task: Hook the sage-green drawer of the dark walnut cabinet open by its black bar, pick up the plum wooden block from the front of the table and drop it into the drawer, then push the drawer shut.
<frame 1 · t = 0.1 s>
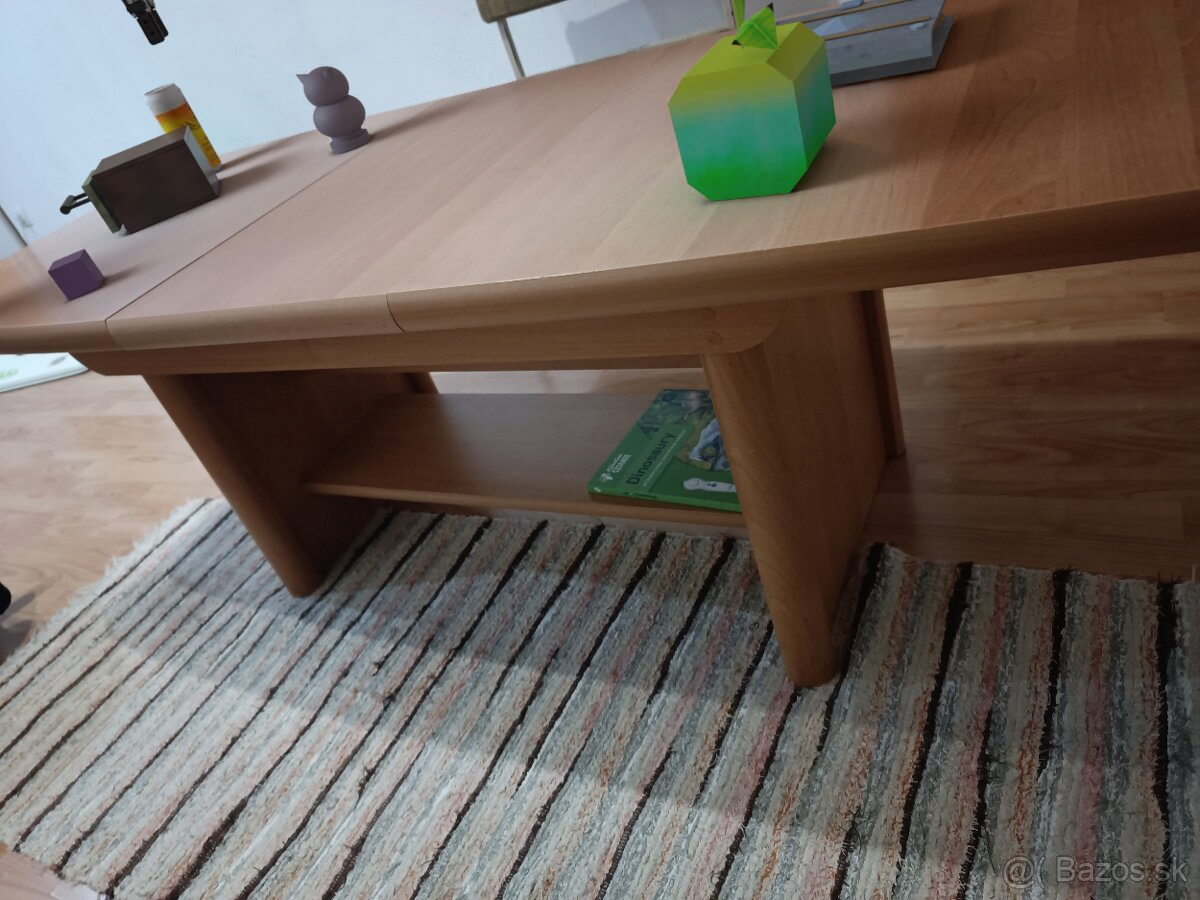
hand: (160, 40, 128), 22 cm above the table, tool pointing down, fingers open, 8 cm apart
drawer: (126, 191, 138), point 5 cm above the table, slide at 1.0 cm
apple: (766, 174, 78), on the table
cabinet: (176, 206, 141), on the table
block: (87, 288, 117), on the table
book: (843, 68, 95), on the table
beer can: (208, 174, 155), on the table
cat figurine: (353, 146, 138), on the table
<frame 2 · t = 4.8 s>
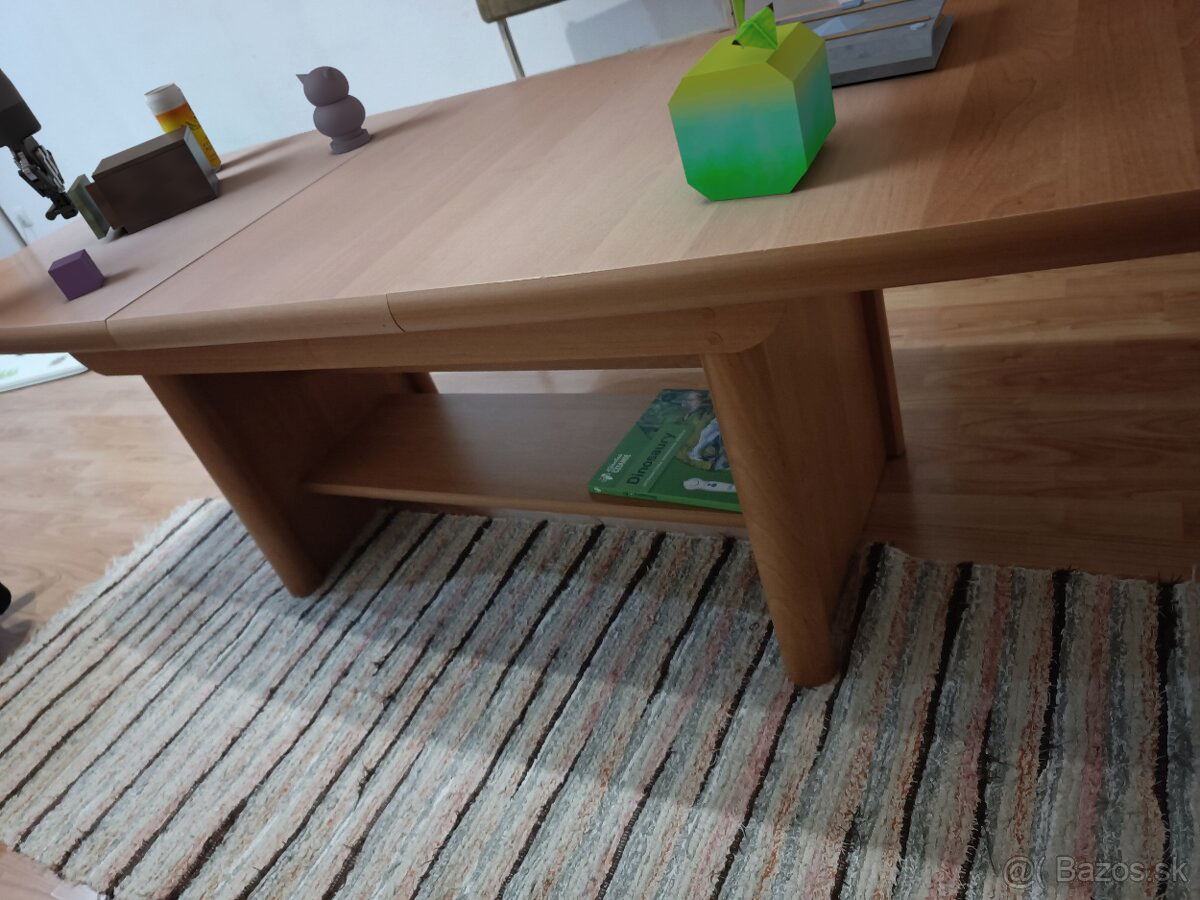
hand: (72, 216, 137), 4 cm above the table, tool pointing down, fingers closed
drawer: (113, 197, 138), point 5 cm above the table, slide at 3.3 cm, touching gripper
everything else where it was.
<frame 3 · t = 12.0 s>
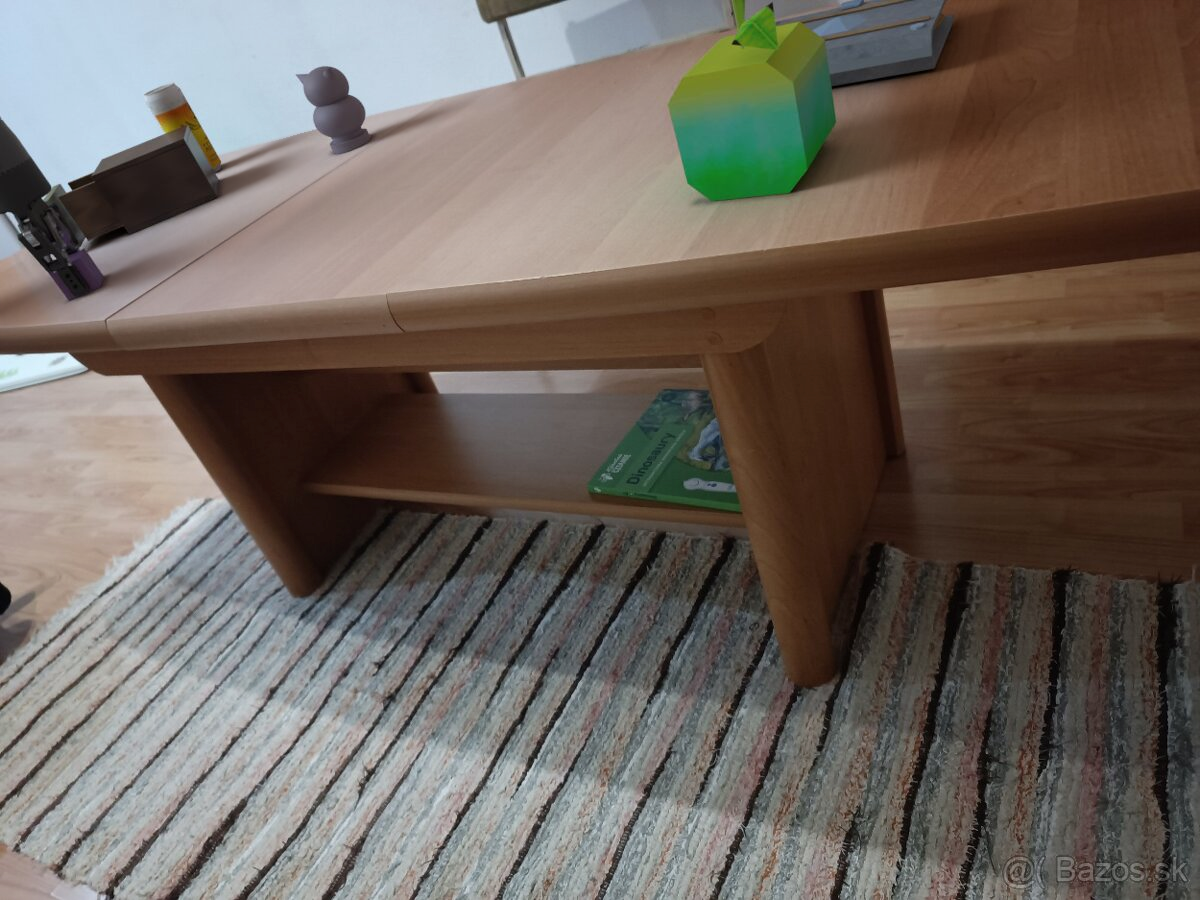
hand: (85, 286, 117), 0 cm above the table, tool pointing down, fingers closed on block, 4 cm apart
drawer: (88, 207, 137), point 5 cm above the table, slide at 7.4 cm
block: (87, 288, 117), on the table, touching gripper
everything else where it was.
when the fingers open (8 cm above the table, at t = 19.4 s): block moves 1 cm, resting on drawer.
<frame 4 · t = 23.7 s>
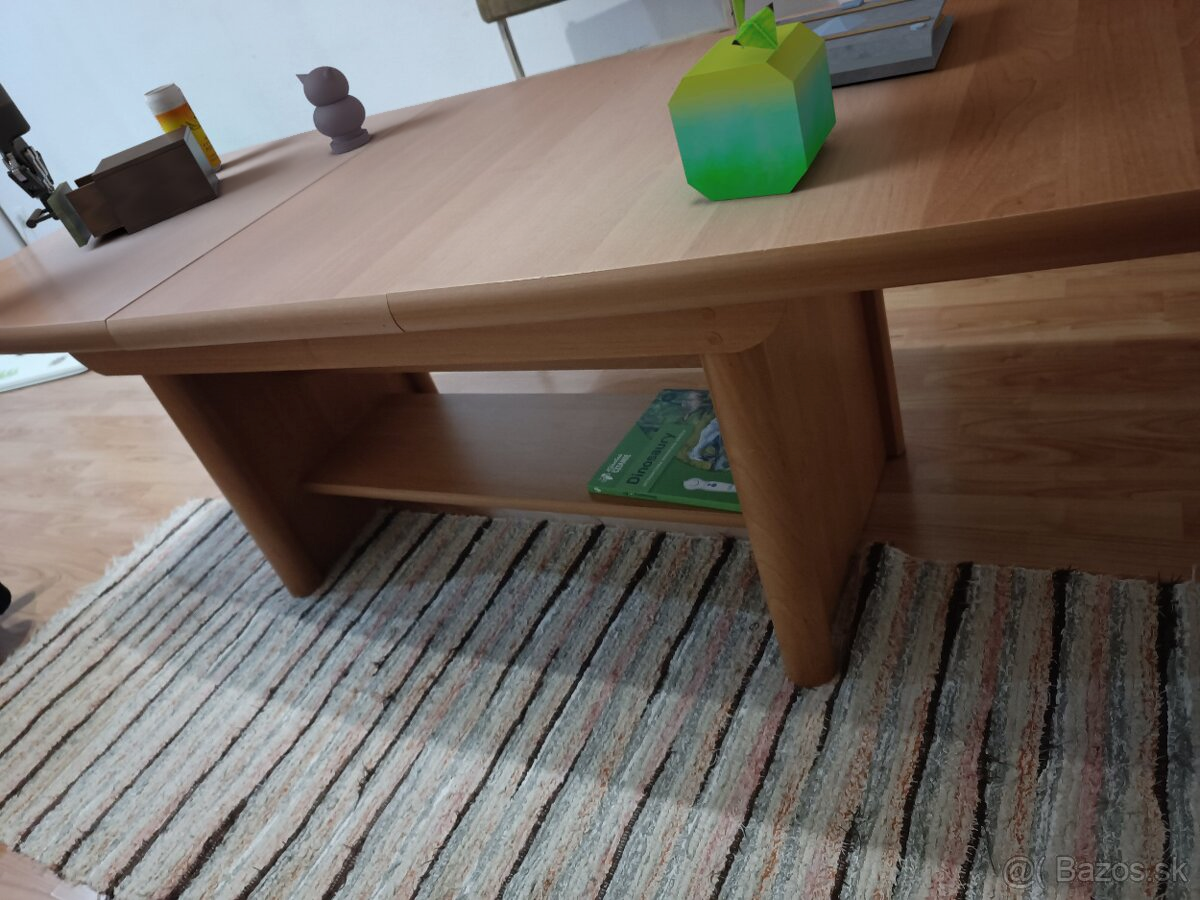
hand: (62, 217, 137), 5 cm above the table, tool pointing down, fingers closed
drawer: (94, 204, 137), point 5 cm above the table, slide at 6.3 cm, touching block, gripper
block: (107, 220, 139), point 2 cm above the table, touching drawer
everything else where it was.
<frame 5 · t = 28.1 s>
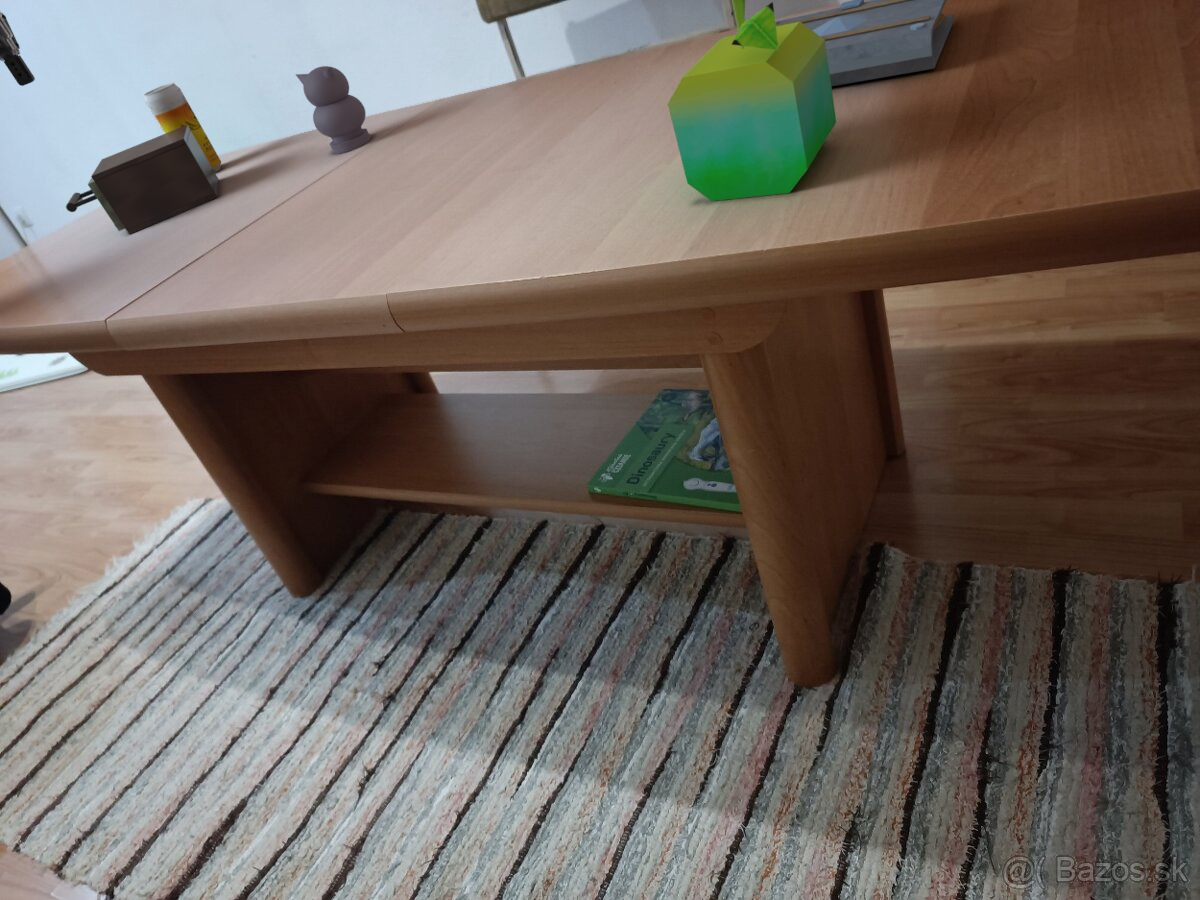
hand: (28, 83, 131), 23 cm above the table, tool pointing down, fingers closed
drawer: (132, 189, 138), point 5 cm above the table, slide at 0.0 cm, touching block
block: (144, 204, 140), point 2 cm above the table, touching drawer
everything else where it was.
at the end: drawer pulled out 7.8 cm at the most during the clip, back to where it started at the end; block inside the target area in the cabinet (4.1 cm from its centre), point 2.0 cm above the cabinet's base; drawer slide at 0.0 cm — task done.
